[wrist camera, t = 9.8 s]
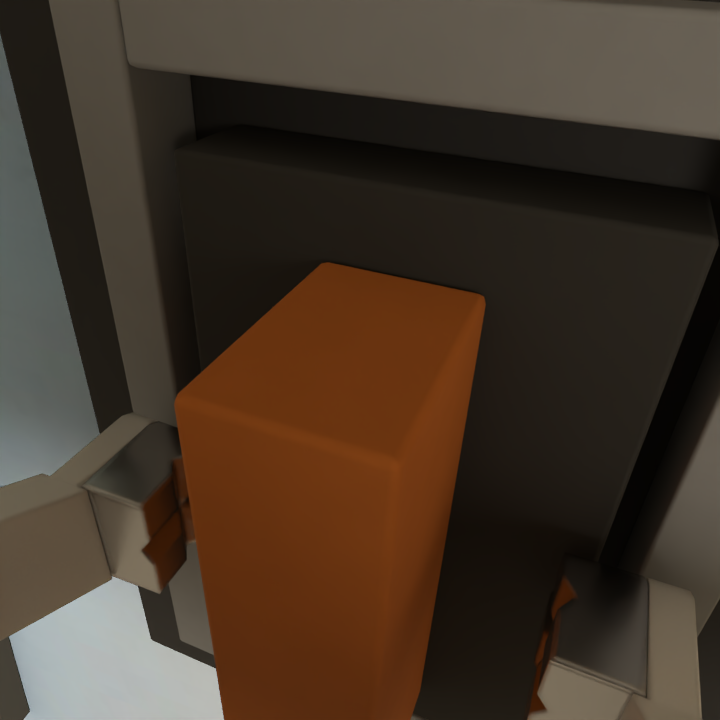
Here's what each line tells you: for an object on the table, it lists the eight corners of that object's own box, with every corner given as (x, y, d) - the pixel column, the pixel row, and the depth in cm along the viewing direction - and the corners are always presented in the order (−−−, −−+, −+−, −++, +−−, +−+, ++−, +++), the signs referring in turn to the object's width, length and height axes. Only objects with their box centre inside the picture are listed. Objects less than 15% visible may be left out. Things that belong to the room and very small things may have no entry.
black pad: (237, 122, 9) (-54, 234, 5) (712, 191, 7) (768, 434, 3) (268, 583, 14) (138, 789, 11) (534, 686, 12) (485, 973, 9)
